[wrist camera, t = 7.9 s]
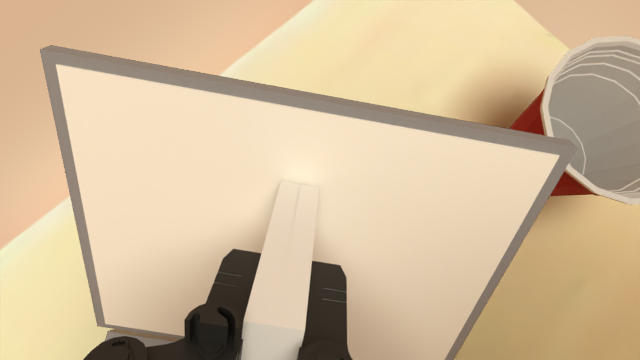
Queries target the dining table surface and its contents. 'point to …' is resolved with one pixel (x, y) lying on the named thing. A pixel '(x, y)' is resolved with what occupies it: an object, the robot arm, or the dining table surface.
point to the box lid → (262, 188)
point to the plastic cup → (594, 118)
